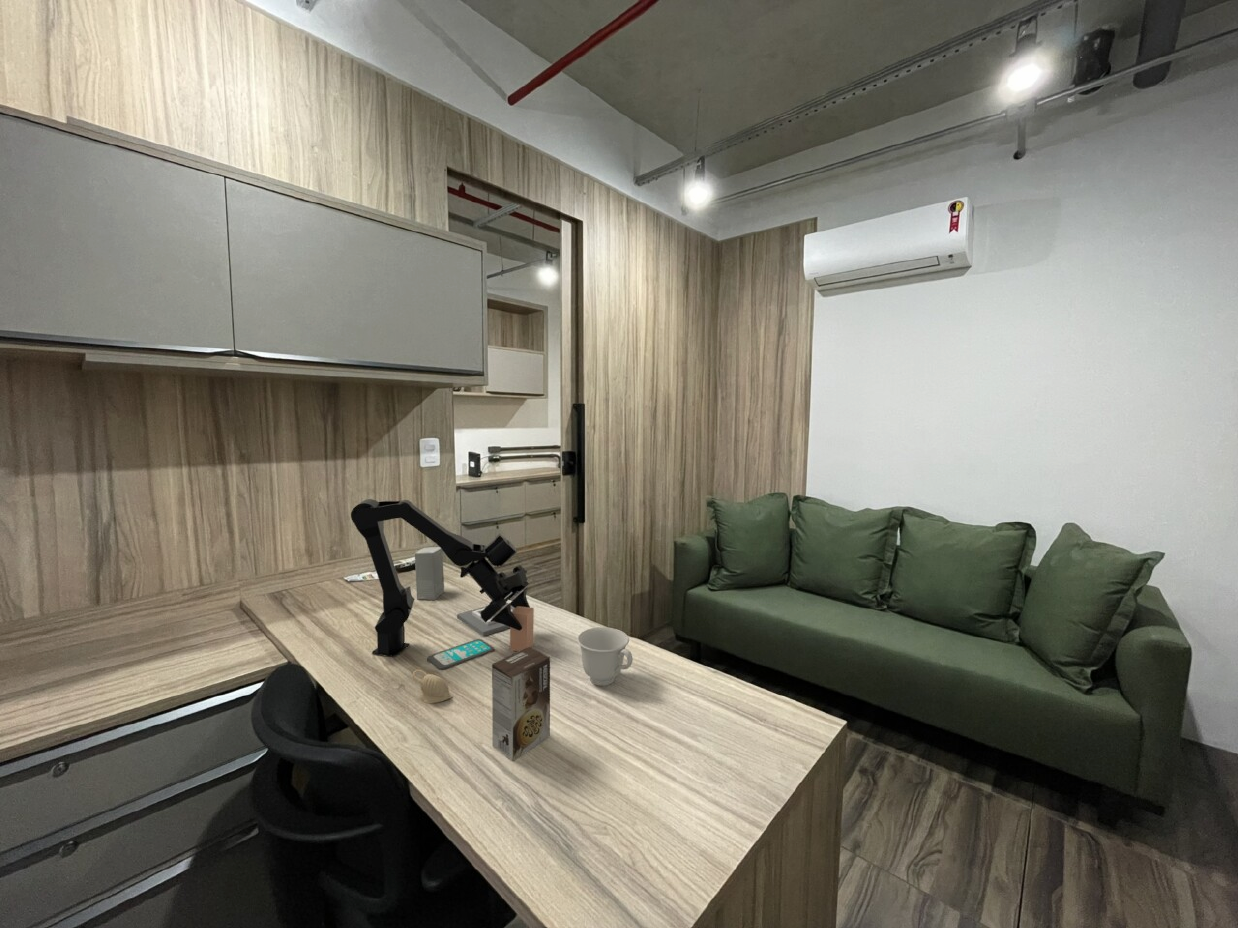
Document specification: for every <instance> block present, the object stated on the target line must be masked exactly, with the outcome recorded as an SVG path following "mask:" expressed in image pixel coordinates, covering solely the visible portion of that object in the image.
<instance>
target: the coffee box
mask: <svg viewBox="0 0 1238 928" xmlns="http://www.w3.org/2000/svg"><path fill="white" fill-rule="evenodd" d="M491 667H492V668H491V675H492V678H491V680H492V681H491V682H492V683H491V684H492V685H491V693H492V694H491V696H492V699H491V700H492V702H491V705H492V706H491V707H492V709H491V710H492V711H491V714H492V718H491V720H492V721H491V722H492V737H491V738H492V747H494V749H496V750H498V751H499V752H500V753H501V754H503V755H504V756H505V757H507V759H509V760H510V761H512V762H513V761H515V760H517V759H518V758H520V757H522V756H523V755H524V754H526V753H527V752H528V751H531V750H532V749H533V748H534V747H536V746H538V745H539V744H540V743H542V742H544V741H545V740H546V739H547V738H549V737H550V736H551V657H550V656H547V655H546V654H543V652H541V651H539V650H538V649H535V648H533V647H532V646H531V647H527V648H525V649H523V650H521V651H517V652H514V653H513V654H511V655H509V656H506V657H504V658H502V659H500V660H498V661H496V662H494V663H492V664H491Z"/></svg>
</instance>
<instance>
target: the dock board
mask: <svg viewBox="0 0 1238 928" xmlns="http://www.w3.org/2000/svg"><path fill="white" fill-rule="evenodd" d="M509 603H510V602H509ZM509 603H508V601H507V602H506V605H508V604H509ZM487 606H488V605H486V606H481V607H478V608H474V609H471V610H467V611H463V612H459V613H457V614H456V618H457V619H458V620H459V621H460V622H462V623H463V624H465V625H466V626H468V627H469V628H471V630H473V631H474V632H476V633H478V634H479V635H480V636H482V637H486V636H489V635H492V634H495V633H499V632H501V631H505V630H507V629H510V627H509V626H506V625H504V624H501V623H498V622H495V621H492V622H491V621H490V620H492V619H493V618H494V617H493V616H492V617H491V618H490V619H489V620H488V621H487V622H486V623H485V622H484V621H483V619H482V618H481V611H482V610H484V609H485V608H486V607H487ZM514 609H515V608H514V607H513V606H511V612H512V611H513V610H514Z"/></svg>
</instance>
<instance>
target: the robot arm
mask: <svg viewBox="0 0 1238 928" xmlns="http://www.w3.org/2000/svg"><path fill="white" fill-rule="evenodd" d="M350 519H351V521H352V523H353V525H354V526H355V528H356V530H357V531H358V532H359V534H360V535H361V536H362V537H363V539H364V540H365V542H366V544H367V549H368V550H369V553H370V554H369V555H370V556H371V559H372V564H373V566H374V569H375V571H376V575H377V578H378V581H379V584H380V586H381V587H380V588H381V589H382V606H383V607H382V608H383V612H381V614H380V616H379V619H378V620H377V622H376V625H374V629H375V632H376V634H377V635H376V638H377V641H376V642H377V643H376V644H377V647H376V648H375V649H374V650H372V654H373V655H378V656H387V657H396V656H397V655H399V654H400V653H402V652H403V651H404V650H405V649H407V648H408V647H409V646H410V642H405V635H406V634H405V632H406V631H405V623H406V622H407V621H408V619H409V618H410V615H411V612H412V610H413V609H412V608H413V606H414V602H415V597H413V595H412V590H411V586H407V587H404V585H402V583H401V581H400V579H399V576H398V573H397V572H398V571H397V570H396V566H395V564H394V560H393V556H392V555H391V551H390V548H389V545H388V541H387V538H386V536H385V531H384V526H385V525H384V524H385V521H390V520H393V519H394V520H395V519H402V520H403V521H405V522H406V523H408V524H409V525H410V526H412V528H415V529H416V530H417V531H418V532H420V533H421V534H422V535H424V536H425V537H427V538H428V539H429V540H431V542H434V543H435V544H436V545H437V547H440V548H441V549H442V550H443V553H444V554H445V556H446V557H447V558H449V560H450V562H452V563H453V564H454V565H456V566H457V567H460V576H459V578H460V579H461V578H465V577H467V576H468V575H469V576H470V577H471V578H472V580H473V581H474V582H475V583H476V584H477V585H478V586H479V588H480V590H479V592H480V594H481V595H482V594H483V595H484V593H485V594H486V596H487V597H488V598H489V599H490V600H491V601H490V602H489V604H488V605H486V606H487V607H486V608H485V609H484V610H482V611H481V618H482V619H483V621H484V622H485V623H486V622H487V621H488V620H489V619H490V618H491V617H492V616H493V617H494V618H493V619H492V620H490V621H491V622H492V621H495V622H498V623H501V624H504V625H506V626H509V627H511V628H514V629H516V630H519V631H520V630H521V629H522V626H521V624H520V623H519V621H518V620H517V618H516V617H515V616H514V614H513V613H512V612H511V606H513V607H514V608H516V607H517V606H521V607H530V608H531V605H530V603H529V601H528V598H527V591H528V587H527V586H529V584H530V583H529V582H528V577H527V573H528V571H527V569H525V568H524V567H523V566H522V565H520V564H518V565H517V566H514V567H513V568H512V572H510V573H509V574H507V575H506V574H505V573H504V572H503V571H501V572H500V573H499V572H498V571H497V570H496V569H495V567H499V566H500V567H503V566H504V565H505V564H506V563H507V562H508V561H509V560H510V559H512V558H513V557H514V556H515V555H516V554H517V553H518V550H517V548H516V546H514V544H513V543H512V542H511V541H510V539H507V538H505V537H504V536H503V535H501V534H498V535H496V536H495V538H494V539H493V540H492V541H491V542H490V543H489V544H488V545H485V544H479V543H473V542H472V541H471V540H469V539H468V538H466V537H464V536H461V535H460V534H457V533H453V532H451V531H449V530H448V529H446V528H445V527H444V526H442V525H441V524H439V523H438V522H437V521H436V520H434V519H433V518H432V517H430V516H429V515H427V514H426V513H425V512H423V511H422V510H421V509H419V508H418V507H417V506H415V505H414V504H413V502H412V501H410V500H408V499H403V500H383V501H382V500H381V501H378V500H375V499H372V498H367V499H364V500H362V501H360V502H359V503H358V504H356V505H355V506H354V507H353V508H352V510H351V513H350ZM508 601H510V602H509V604H508V605H506V602H507V603H508Z"/></svg>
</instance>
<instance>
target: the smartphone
mask: <svg viewBox="0 0 1238 928" xmlns="http://www.w3.org/2000/svg"><path fill="white" fill-rule="evenodd" d="M494 650H495V647H494V646H492V645H491V644H489V643H488V642H486V641H485V640H483V639H482V638H476V639H473V640H470V641H467V642H465V643H462V644H459V645H456V646H453V647H450V648H449V647H448V648H447V649H444V650H441V651H439V652H435V653H433V654H429V655H428V656H426V660H427V662H428V663H430V664H431V665H432V666H433V667H435V668H436V669H437V670H439V671H445V670H448V669H451V668H453V667H456V666H458V665H461V664H464V663H467V662H470V661H471V660H474V659H477V658H480V657H484V656H486V655H488V654H490V653H493V652H494Z"/></svg>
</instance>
